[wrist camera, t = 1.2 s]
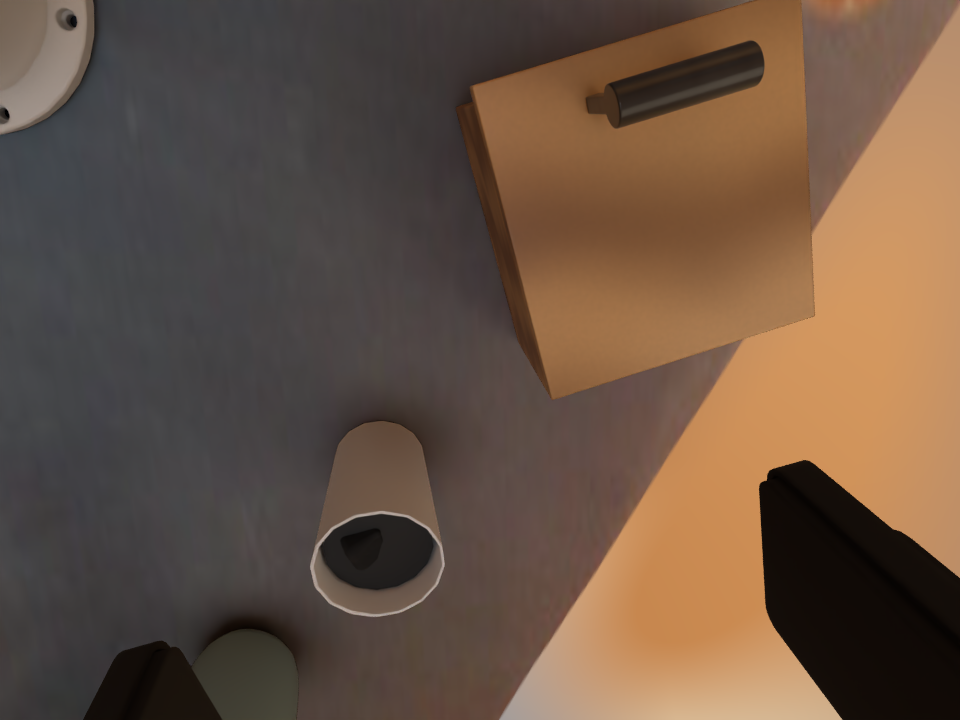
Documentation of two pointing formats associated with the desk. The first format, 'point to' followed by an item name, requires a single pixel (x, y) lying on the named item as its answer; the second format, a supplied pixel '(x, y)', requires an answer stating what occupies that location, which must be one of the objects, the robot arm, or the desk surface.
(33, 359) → the desk surface
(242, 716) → the cup
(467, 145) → the box
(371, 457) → the white tumbler
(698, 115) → the lid
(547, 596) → the desk surface
